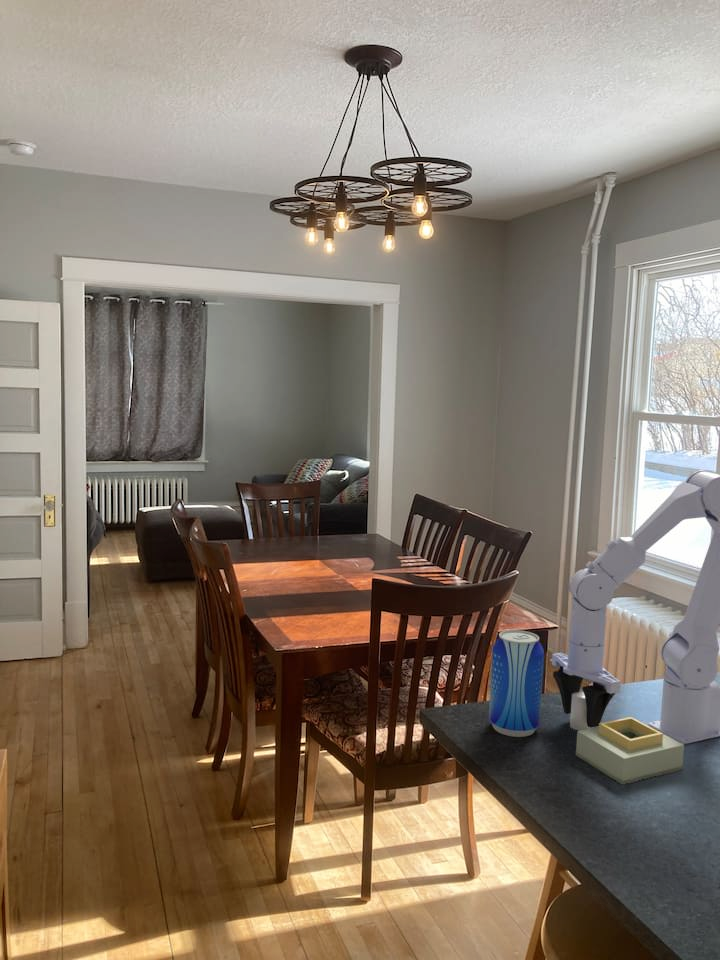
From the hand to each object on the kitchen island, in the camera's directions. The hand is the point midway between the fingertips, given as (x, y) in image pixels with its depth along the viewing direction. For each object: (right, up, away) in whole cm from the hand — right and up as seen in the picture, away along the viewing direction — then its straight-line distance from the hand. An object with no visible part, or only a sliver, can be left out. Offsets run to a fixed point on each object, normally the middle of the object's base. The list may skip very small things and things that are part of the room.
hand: (581, 719), depth 136 cm
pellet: (0, -1, 0) cm, 1 cm away
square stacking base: (+4, -3, -12) cm, 13 cm away
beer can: (-12, -1, -1) cm, 12 cm away
